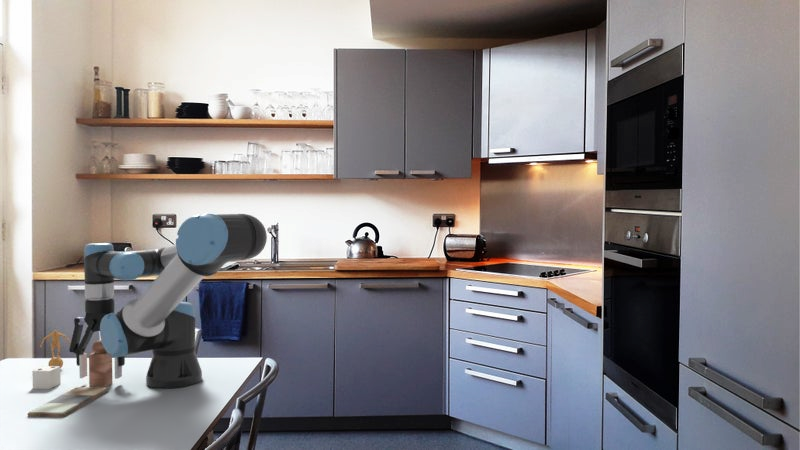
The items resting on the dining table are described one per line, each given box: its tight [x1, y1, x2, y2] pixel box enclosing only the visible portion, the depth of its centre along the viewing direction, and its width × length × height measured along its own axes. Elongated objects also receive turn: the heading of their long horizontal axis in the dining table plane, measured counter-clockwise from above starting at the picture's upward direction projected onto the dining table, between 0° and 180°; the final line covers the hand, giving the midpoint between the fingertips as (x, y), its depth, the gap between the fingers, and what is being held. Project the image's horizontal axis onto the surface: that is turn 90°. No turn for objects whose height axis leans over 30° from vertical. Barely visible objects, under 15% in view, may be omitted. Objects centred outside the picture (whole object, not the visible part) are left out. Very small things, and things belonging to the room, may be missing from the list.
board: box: [27, 386, 109, 418], centre depth 165 cm, size 9×21×1 cm, turn 177°
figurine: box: [39, 329, 71, 369], centre depth 200 cm, size 8×6×12 cm
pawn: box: [88, 339, 113, 388], centre depth 183 cm, size 4×4×13 cm
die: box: [31, 365, 62, 390], centre depth 182 cm, size 5×5×5 cm
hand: (100, 377), depth 183 cm, fingers open, 9 cm apart
